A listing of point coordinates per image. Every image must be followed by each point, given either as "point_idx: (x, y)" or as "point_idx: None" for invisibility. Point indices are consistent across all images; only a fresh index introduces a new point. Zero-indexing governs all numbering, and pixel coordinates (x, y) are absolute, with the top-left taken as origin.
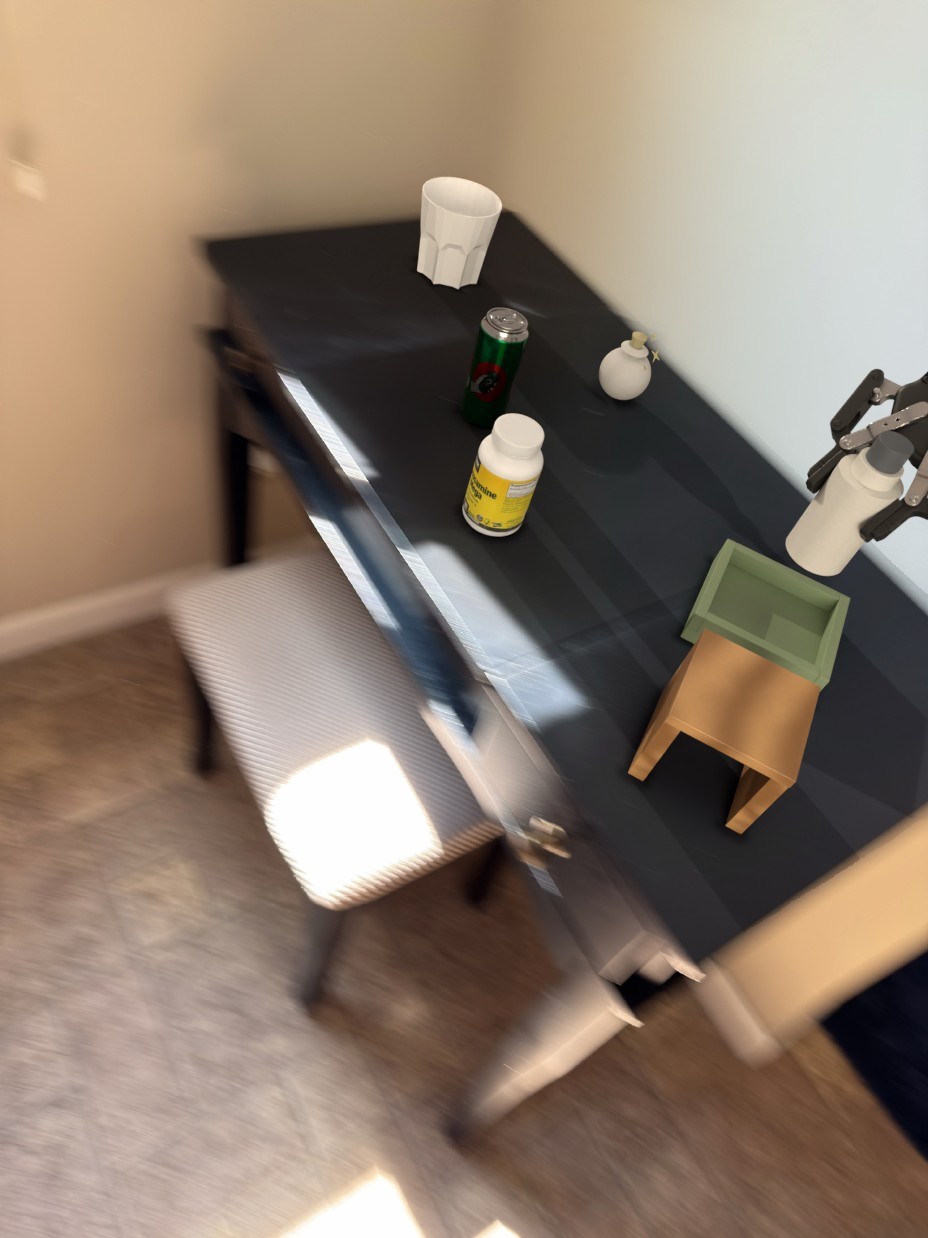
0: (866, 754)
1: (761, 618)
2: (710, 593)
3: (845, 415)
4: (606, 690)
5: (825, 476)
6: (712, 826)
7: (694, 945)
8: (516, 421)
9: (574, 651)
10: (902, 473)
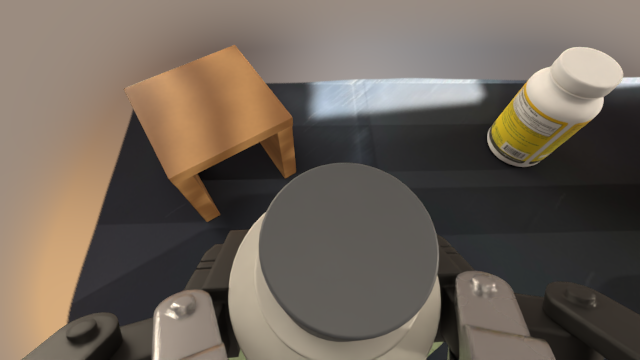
0: (135, 322)
1: None
2: None
3: (619, 326)
4: (316, 135)
5: None
6: None
7: None
8: (607, 68)
9: (357, 133)
10: (261, 302)
